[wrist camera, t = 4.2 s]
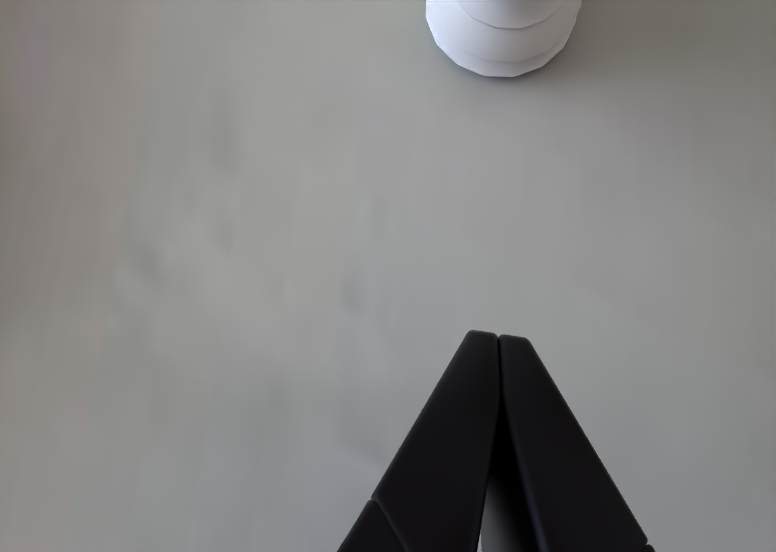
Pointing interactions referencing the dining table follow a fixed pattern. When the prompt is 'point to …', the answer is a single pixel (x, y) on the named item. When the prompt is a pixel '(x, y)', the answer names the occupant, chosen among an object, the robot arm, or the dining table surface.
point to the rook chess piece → (501, 32)
